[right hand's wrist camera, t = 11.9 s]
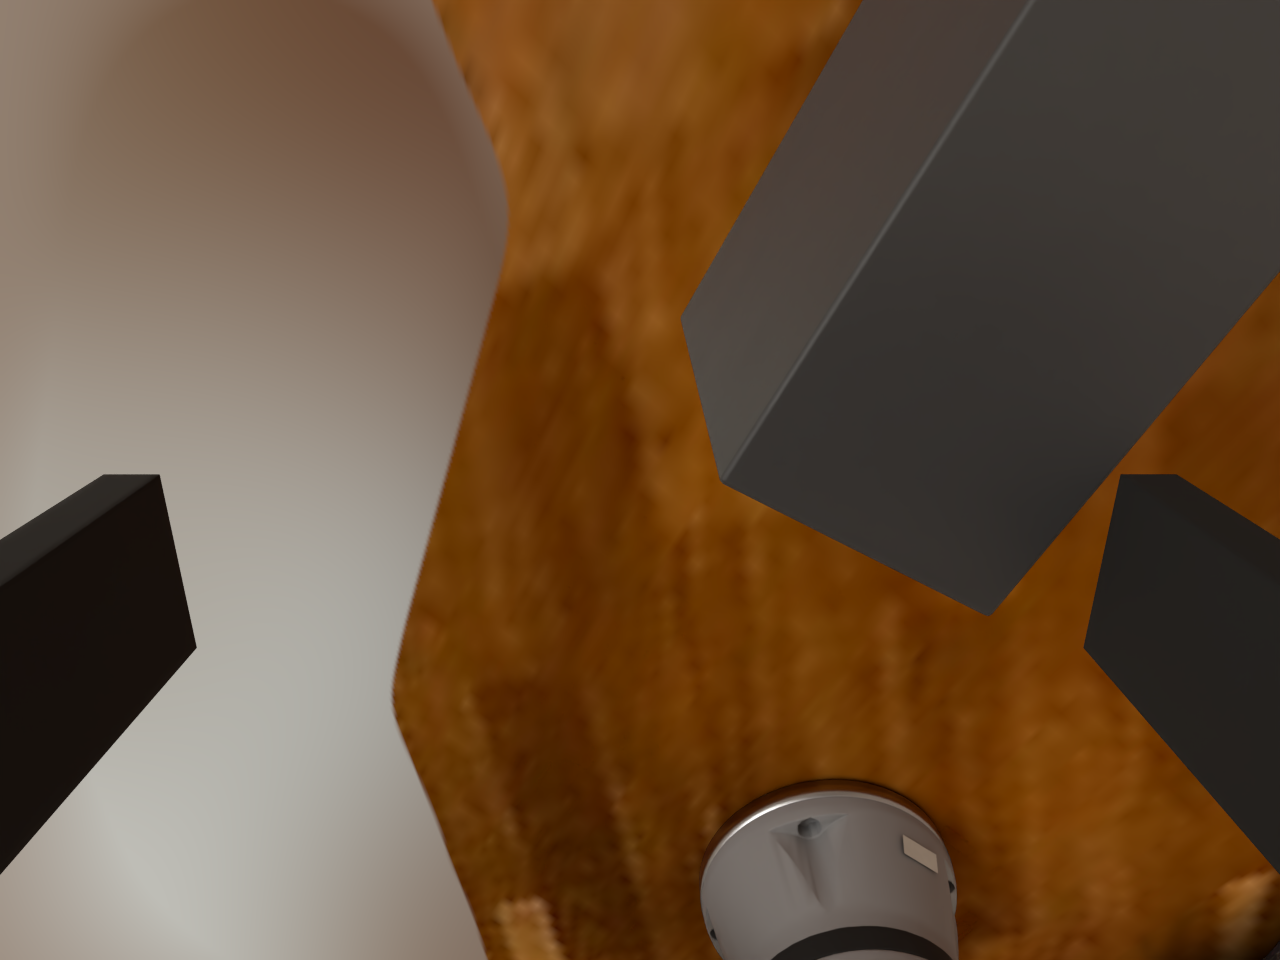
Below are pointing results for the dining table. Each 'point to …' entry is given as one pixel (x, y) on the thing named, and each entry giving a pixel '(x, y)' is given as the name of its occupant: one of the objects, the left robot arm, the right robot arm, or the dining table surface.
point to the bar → (988, 269)
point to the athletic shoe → (1274, 953)
